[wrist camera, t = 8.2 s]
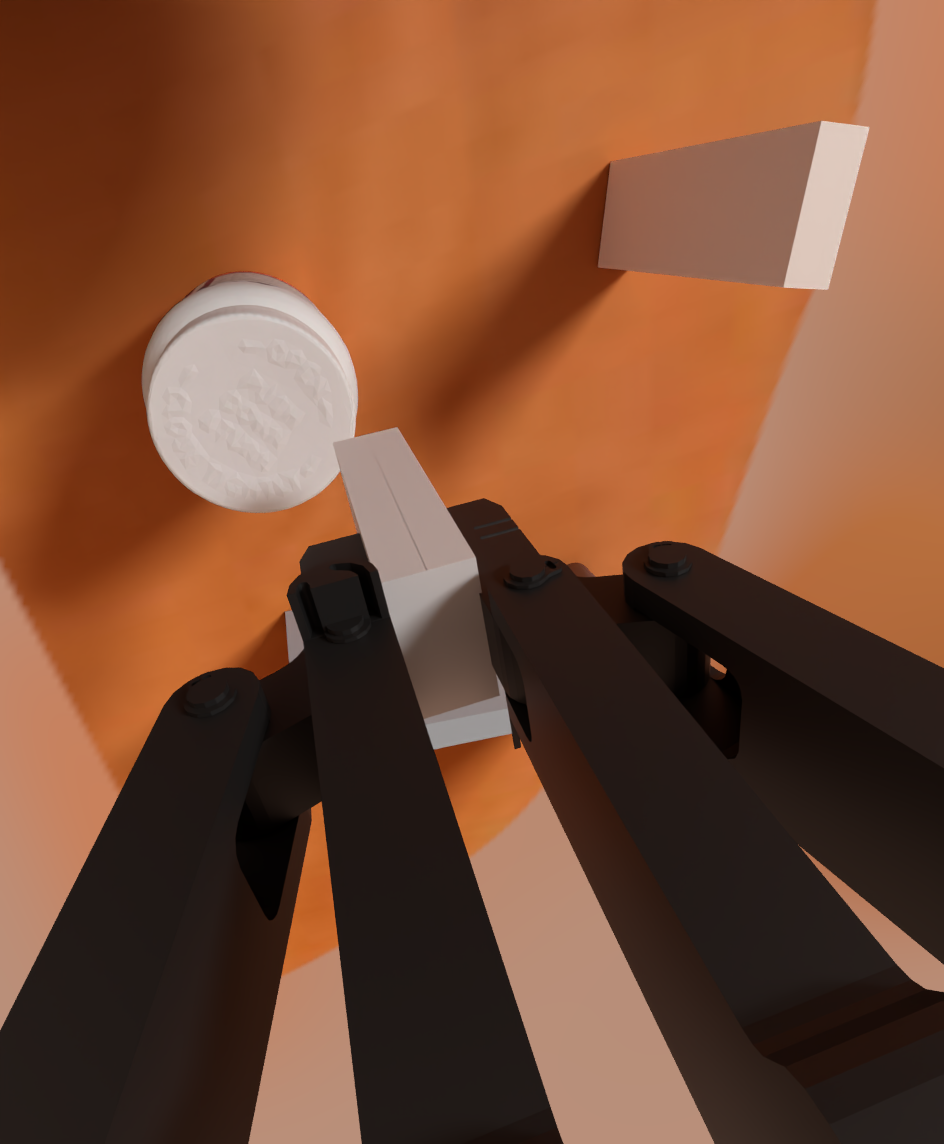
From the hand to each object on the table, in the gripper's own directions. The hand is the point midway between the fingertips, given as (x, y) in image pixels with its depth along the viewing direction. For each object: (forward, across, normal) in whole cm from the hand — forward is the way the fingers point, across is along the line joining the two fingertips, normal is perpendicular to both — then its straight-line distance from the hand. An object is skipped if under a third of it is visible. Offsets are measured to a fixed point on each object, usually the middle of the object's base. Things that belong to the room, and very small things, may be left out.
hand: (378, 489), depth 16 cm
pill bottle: (+14, -3, +1) cm, 15 cm away
